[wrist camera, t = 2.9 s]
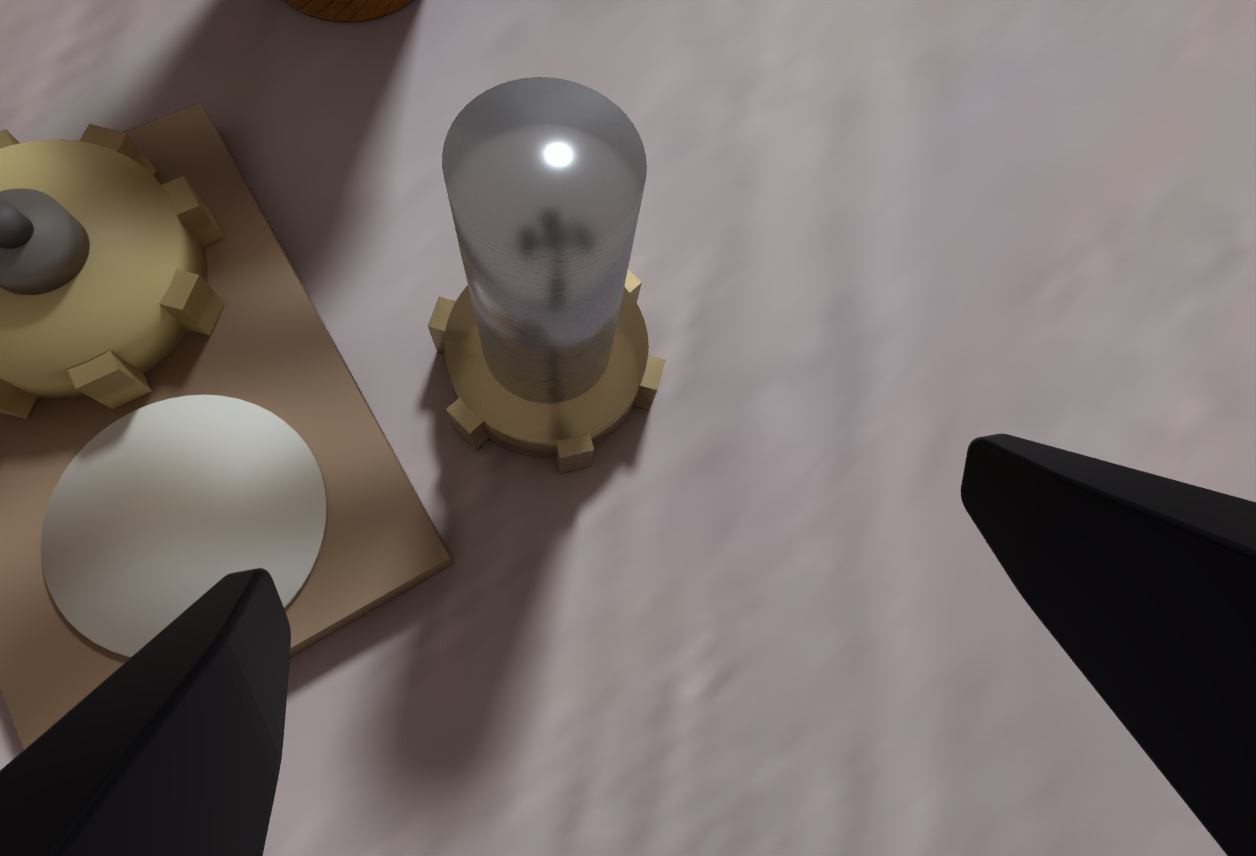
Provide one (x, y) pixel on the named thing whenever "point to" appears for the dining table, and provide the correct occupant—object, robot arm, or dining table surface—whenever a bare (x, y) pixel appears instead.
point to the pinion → (545, 271)
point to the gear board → (171, 416)
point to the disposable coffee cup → (347, 8)
